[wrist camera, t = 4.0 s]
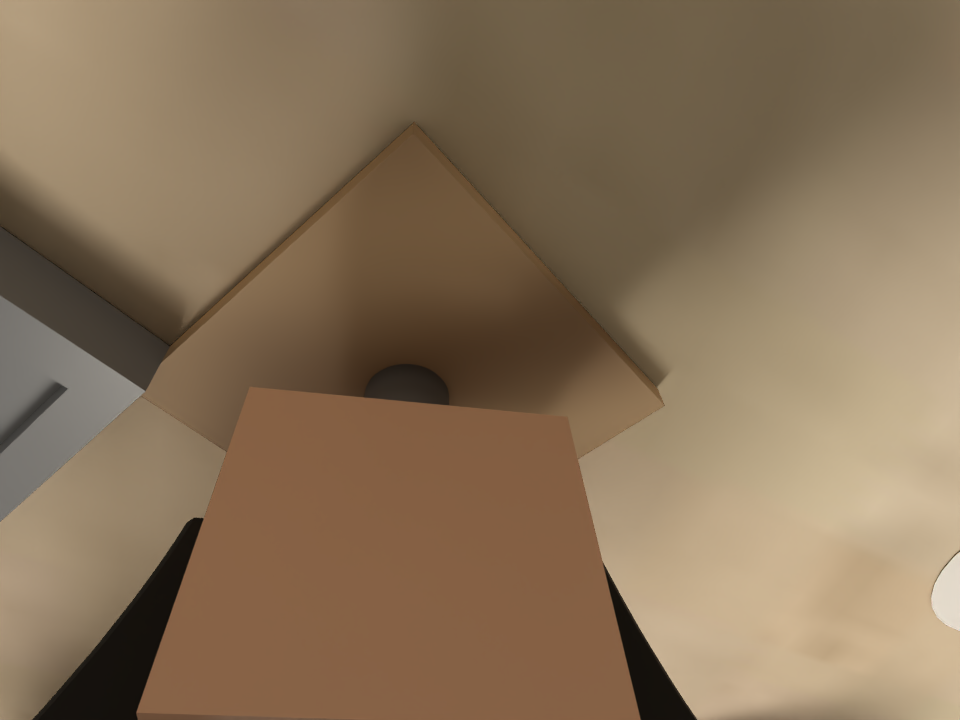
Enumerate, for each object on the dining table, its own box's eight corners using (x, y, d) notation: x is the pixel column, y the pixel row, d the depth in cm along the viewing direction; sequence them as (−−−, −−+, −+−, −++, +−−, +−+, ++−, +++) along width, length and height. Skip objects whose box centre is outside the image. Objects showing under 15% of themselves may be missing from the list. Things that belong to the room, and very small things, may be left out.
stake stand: (657, 388, 16) (721, 543, 12) (403, 548, 19) (396, 711, 15) (414, 122, 12) (405, 234, 9) (141, 372, 15) (49, 535, 11)
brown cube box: (567, 416, 11) (642, 728, 7) (502, 627, 15) (528, 922, 11) (249, 386, 11) (135, 713, 7) (256, 614, 14) (183, 925, 10)
